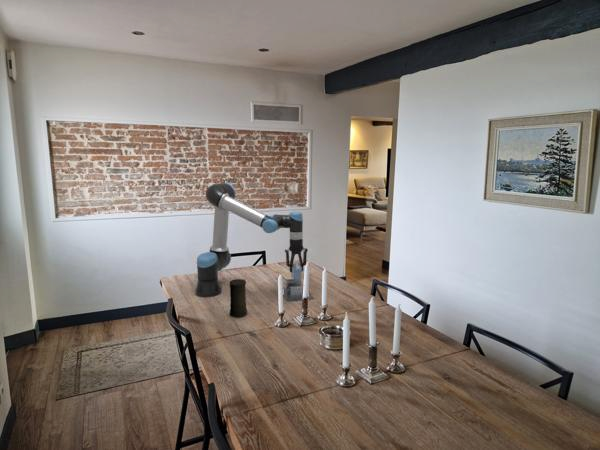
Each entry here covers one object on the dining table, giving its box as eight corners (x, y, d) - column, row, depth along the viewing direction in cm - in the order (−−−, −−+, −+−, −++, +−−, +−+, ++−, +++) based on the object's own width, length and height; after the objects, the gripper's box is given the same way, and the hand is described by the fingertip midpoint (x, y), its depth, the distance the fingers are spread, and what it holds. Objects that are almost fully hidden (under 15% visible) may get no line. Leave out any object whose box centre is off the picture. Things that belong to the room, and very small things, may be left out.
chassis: (279, 289, 241) (279, 277, 240) (304, 287, 245) (304, 275, 244) (287, 301, 222) (286, 289, 221) (313, 298, 227) (314, 286, 225)
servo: (291, 275, 236) (291, 261, 234) (297, 275, 237) (297, 260, 235) (295, 280, 227) (295, 265, 225) (301, 279, 228) (301, 265, 226)
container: (248, 311, 209) (248, 278, 205) (244, 318, 200) (244, 284, 197) (232, 310, 210) (231, 278, 206) (227, 317, 201) (226, 284, 198)
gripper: (283, 240, 222) (283, 280, 226) (312, 238, 226) (312, 277, 231) (280, 238, 229) (280, 276, 233) (308, 236, 233) (308, 274, 238)
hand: (296, 277), depth 232 cm, fingers closed on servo, 4 cm apart
